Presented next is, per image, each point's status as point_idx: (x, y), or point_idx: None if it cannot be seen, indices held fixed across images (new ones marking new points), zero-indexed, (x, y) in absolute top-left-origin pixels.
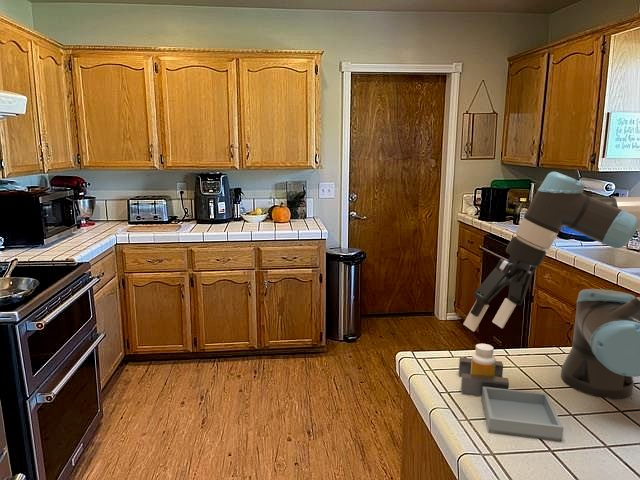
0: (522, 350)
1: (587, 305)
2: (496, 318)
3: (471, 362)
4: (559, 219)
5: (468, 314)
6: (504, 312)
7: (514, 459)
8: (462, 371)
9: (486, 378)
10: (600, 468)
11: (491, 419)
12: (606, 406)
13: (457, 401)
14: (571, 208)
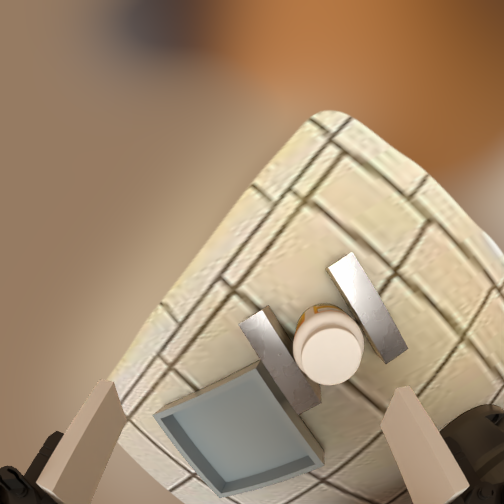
0: None
1: None
2: (403, 412)
3: (314, 312)
4: None
5: (77, 413)
6: (412, 461)
7: (140, 442)
8: (330, 275)
9: (280, 369)
10: None
11: (154, 417)
12: (387, 495)
13: (213, 325)
14: None
